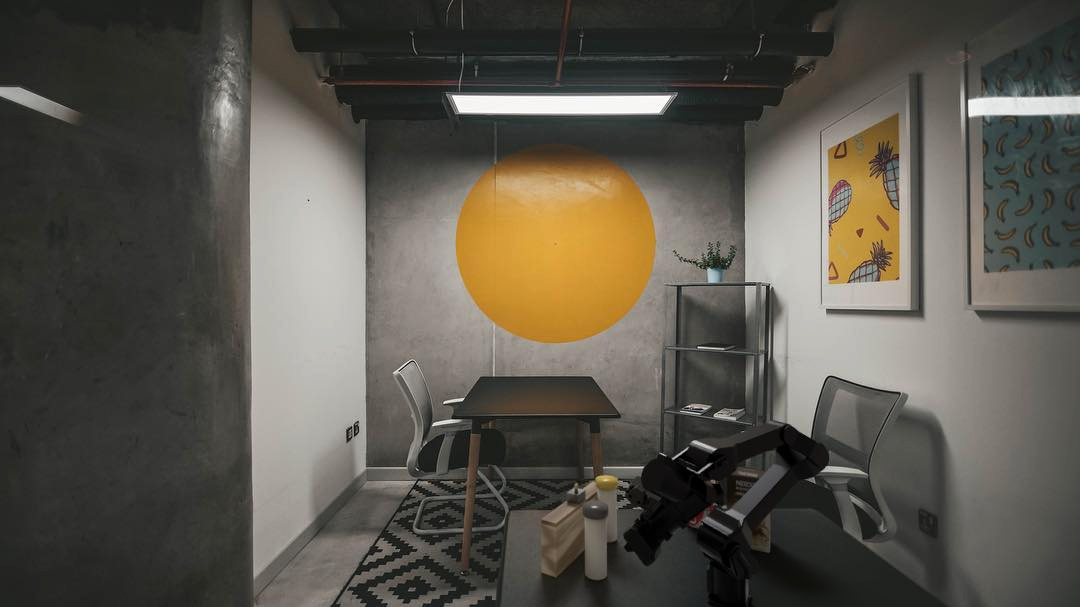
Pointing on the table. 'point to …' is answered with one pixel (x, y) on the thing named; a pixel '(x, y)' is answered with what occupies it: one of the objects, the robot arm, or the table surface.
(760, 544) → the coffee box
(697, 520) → the soda can
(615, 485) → the white cylinder
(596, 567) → the grey capped bottle
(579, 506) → the mount
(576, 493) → the potentiometer
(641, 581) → the table surface
